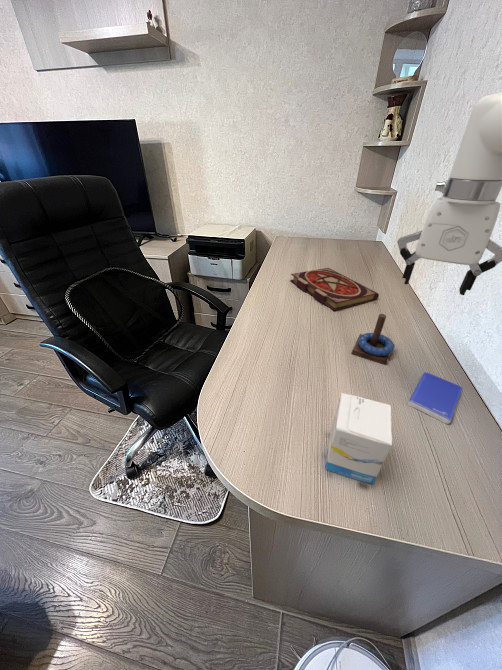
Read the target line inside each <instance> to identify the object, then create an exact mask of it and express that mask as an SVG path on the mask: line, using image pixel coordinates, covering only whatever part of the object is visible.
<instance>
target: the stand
mask: <svg viewBox="0 0 502 670" xmlns="http://www.w3.org/2000/svg"><path fill="white" fill-rule="evenodd" d="M386 319H387V315H386V314H384V313H379V314H378V316H377V320H376V322H375V323H376V324H375V326H374V330H373V332H372V333H373V336H372V339H371V340H369V341H367V343H368V344H370V345H371V346H374V347H377V348H384V347H385V345H384V344H382V343H381V342H378V341H379V338H380V335H381V334H382V332H383V329H384V325H385V321H386ZM361 335H363V334H362V333H360V334H359V335H358V338H357V340H356V341H355V344H354V346H353V348H352V350H351V355H354V356H356V357H360V358H363V359H366V360H368V361H372V362H376V363H379V364H382V365H385V366H386V365H387V363H388V360H389V357H390V354H389V355H387V356H375V355H372V354H368V353H367V352H365V351H364V350H362V349H361V348H360V346H359V344H358V340H359V338H360V336H361Z"/></svg>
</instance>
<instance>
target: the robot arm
mask: <svg viewBox="0 0 502 670" xmlns="http://www.w3.org/2000/svg"><path fill="white" fill-rule="evenodd" d="M501 190H502V92H496V93H491V94H488V95H485V96H483V97H481V98H479V100H478V101H477V102H476V103H475V104H474V106H473V108H472V110H471V113H470V114H469V118H468V121H467V124H466V127H465V130H464V133H463V136H462V138H461V141H460V144H459V147H458V150H457V153H456V156H455V158H454V160H453V164H452V167H451V170H450V173H449V176H448V179H446V180H442V181H437V183H436V186H435V189H434V191H436V192H439V193H441V194H442V196H441V197H437V198H436V200H435V201H434V202H433V204H432V207H431V209H430V211H429V212H428V215H427V217H426V220H425V222H424V225H423V228H422V230H420V231H416V232H414V233H410V234H407V235H403V236H401V237H398V239H397V246H398V250H399V254H400V256H401V257H402V259H403V260H404V262H405V264H406V265H405V268H404V271H403V275H402V277H401V278H402V279H405V280H404V283H403V284H404V285H409V282H410V280H411V278H412V274H413V271H414V268H415V265H416V262H417V261H418V260H420V259H424V260H429V261H435V262H441V263H449V264H456V265H462V266H469V270H467V271H466V273H465V276H464V278H463V280H462V282H461V284H460V286H459V290H458V291H459V295H460V296H465V295H466V292H467V291H471V290H472V288H473V286H474V284H475V282H476V279H477V278H478V277H479V276H481V275H482V274H483V273H485V272H488V271H489V270H492V269H494V268H496V267H497V265H498V264H500V263H501V262H502V246H501V245H500V244H498V243H496V242H495V241H494V240H492V239H491V236H492V234H493V232H494V229H495V225H496V223H497V219H498V217H499V212H500V209H501V202H499V201H497V199H498V196H499V194H500V192H501ZM415 241H418V242H417V245H416V248H415V250H414V251H413V252H412V253H411V251H410V250H409V249H408V245H407V244H408V243H412V242H415ZM486 250H488V251H489V252H491V253H492V254H494V255H493V256H492V257H490V258H489V259H487V260H485V261H483V262H481V263H479V262H480V261H481V259H482V258H483V255H484V253H485V251H486Z"/></svg>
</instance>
